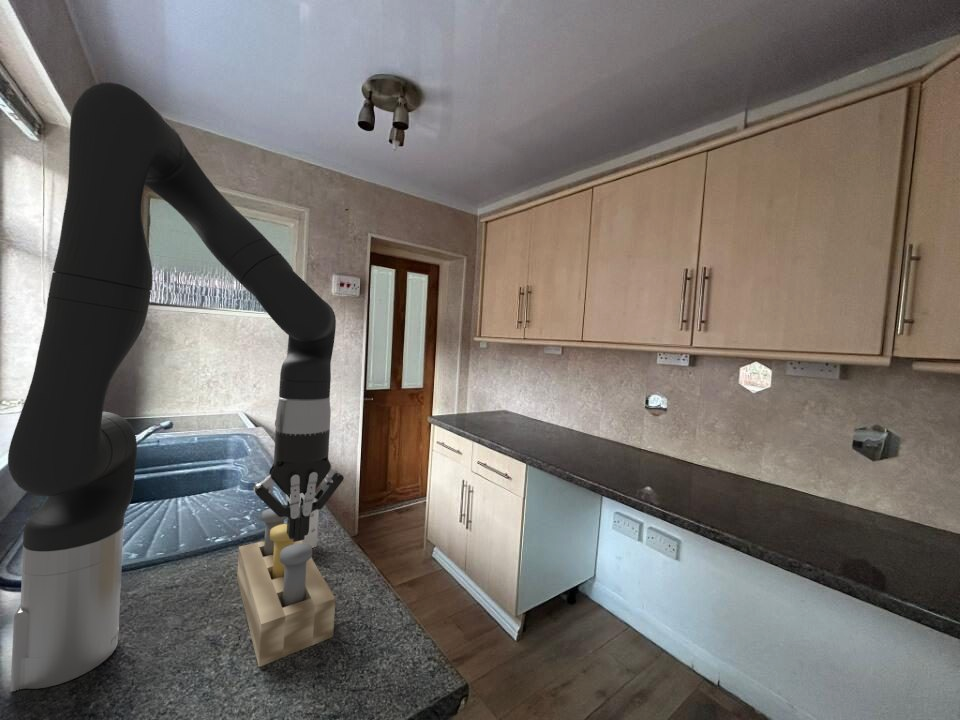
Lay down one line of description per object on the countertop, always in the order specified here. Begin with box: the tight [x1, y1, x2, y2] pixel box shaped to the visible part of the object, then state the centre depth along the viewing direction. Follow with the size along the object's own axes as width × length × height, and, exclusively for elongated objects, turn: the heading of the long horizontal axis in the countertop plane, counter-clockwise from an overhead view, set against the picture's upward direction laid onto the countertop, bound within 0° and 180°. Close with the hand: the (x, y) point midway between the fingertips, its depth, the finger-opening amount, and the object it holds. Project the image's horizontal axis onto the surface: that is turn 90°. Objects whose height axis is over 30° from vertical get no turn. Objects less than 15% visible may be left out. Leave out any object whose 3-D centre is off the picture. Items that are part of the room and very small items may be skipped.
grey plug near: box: [280, 543, 313, 608], centre depth 58 cm, size 4×4×9 cm
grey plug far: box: [261, 508, 287, 557], centre depth 70 cm, size 4×4×9 cm
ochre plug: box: [270, 523, 294, 580], centre depth 64 cm, size 4×4×9 cm
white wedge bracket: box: [301, 509, 320, 548], centre depth 83 cm, size 4×10×9 cm, turn 141°
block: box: [236, 540, 336, 668], centre depth 64 cm, size 10×24×6 cm, turn 39°
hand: (297, 538), depth 58 cm, fingers closed
